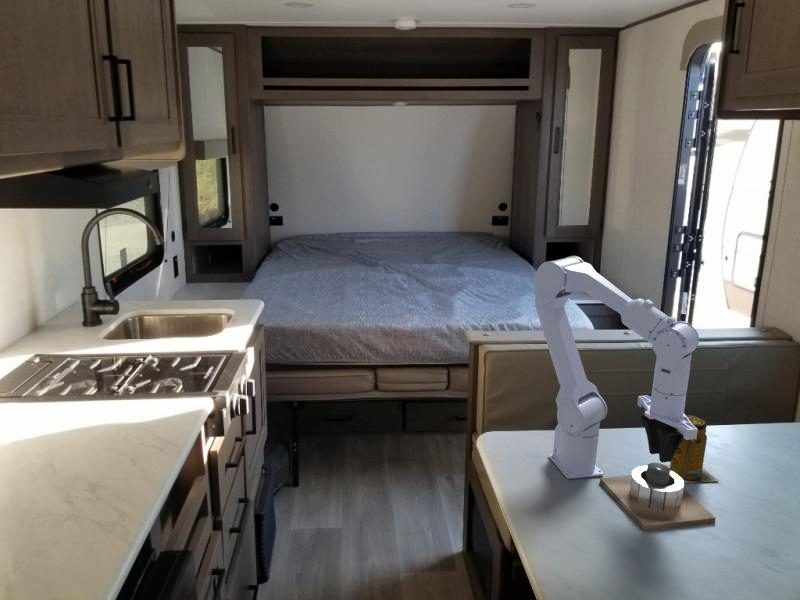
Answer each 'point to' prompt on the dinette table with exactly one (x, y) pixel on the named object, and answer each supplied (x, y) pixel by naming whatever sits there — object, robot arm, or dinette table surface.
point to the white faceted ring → (656, 491)
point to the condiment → (692, 456)
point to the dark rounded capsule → (657, 474)
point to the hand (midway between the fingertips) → (660, 457)
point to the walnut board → (652, 518)
